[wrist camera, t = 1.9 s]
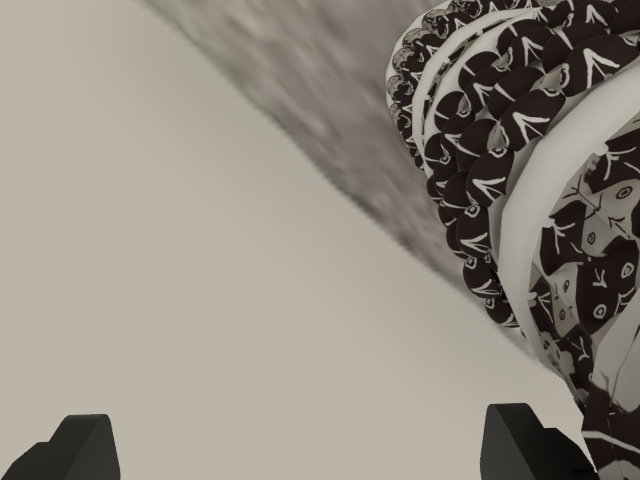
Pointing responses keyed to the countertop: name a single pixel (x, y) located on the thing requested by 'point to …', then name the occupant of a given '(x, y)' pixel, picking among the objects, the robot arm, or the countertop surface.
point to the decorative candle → (540, 184)
